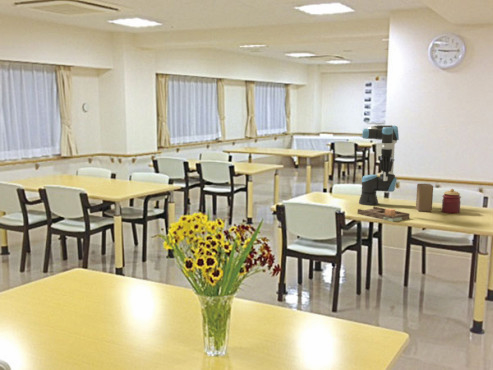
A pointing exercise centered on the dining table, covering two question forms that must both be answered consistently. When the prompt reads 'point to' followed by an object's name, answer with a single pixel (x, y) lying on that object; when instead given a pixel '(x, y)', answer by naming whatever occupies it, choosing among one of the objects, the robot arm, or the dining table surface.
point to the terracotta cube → (390, 212)
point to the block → (424, 197)
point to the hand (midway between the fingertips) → (385, 180)
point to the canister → (451, 202)
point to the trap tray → (383, 214)
